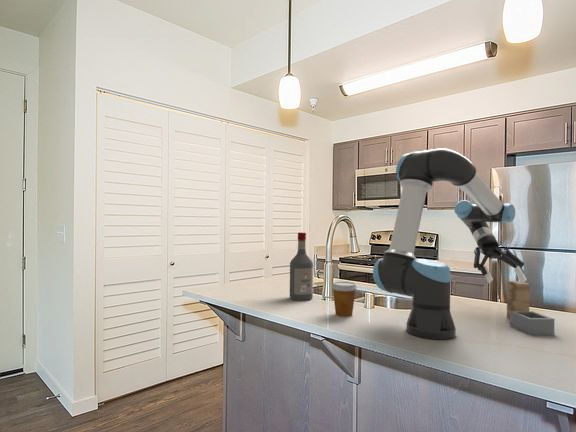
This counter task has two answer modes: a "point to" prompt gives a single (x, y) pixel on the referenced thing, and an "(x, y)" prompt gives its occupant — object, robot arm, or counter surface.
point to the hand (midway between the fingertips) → (507, 281)
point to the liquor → (301, 273)
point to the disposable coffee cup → (344, 298)
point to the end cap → (531, 322)
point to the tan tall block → (517, 296)
